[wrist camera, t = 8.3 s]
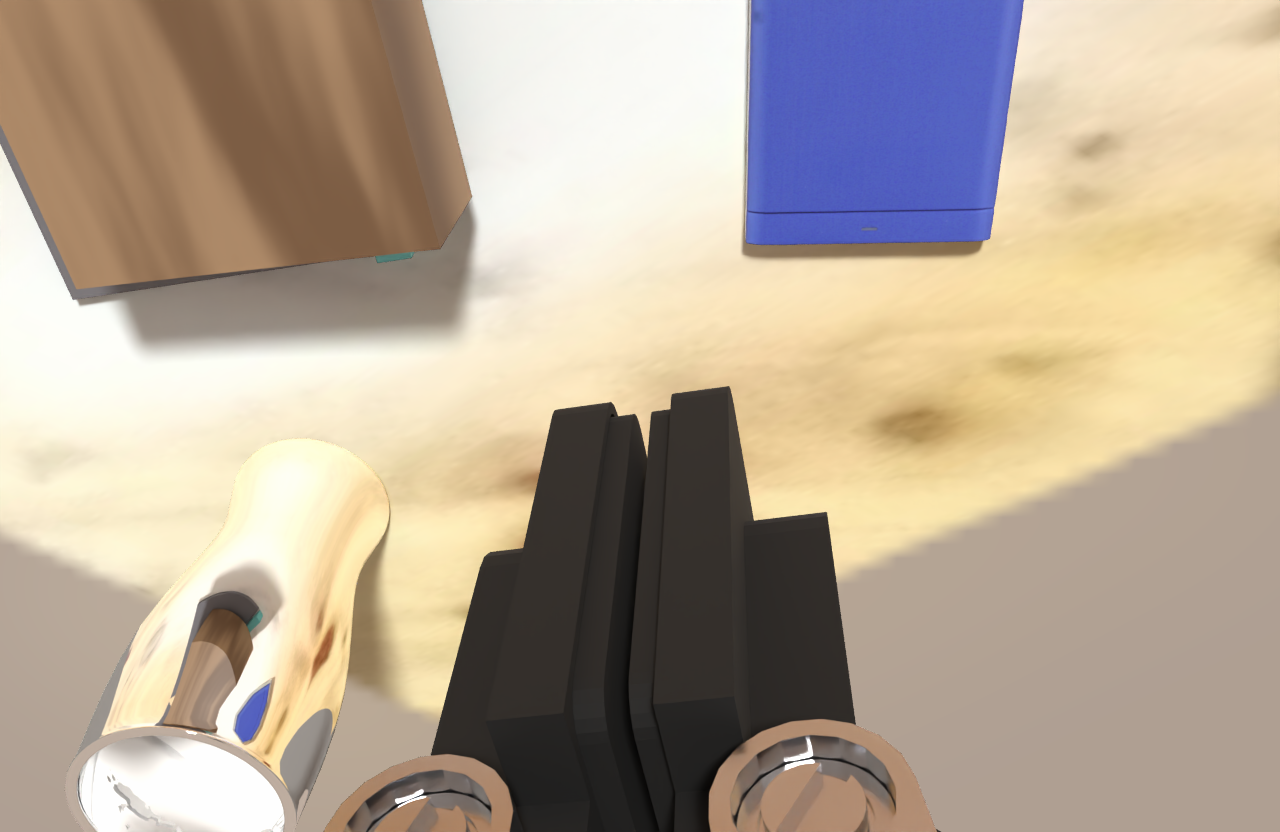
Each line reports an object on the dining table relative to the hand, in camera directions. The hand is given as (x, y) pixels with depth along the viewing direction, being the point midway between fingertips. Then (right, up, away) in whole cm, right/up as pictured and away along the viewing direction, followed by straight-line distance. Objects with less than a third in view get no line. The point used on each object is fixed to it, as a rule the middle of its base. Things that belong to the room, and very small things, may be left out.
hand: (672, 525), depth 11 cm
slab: (-7, +11, +22) cm, 26 cm away
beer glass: (-13, -2, +35) cm, 38 cm away
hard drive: (+7, +13, +26) cm, 30 cm away
